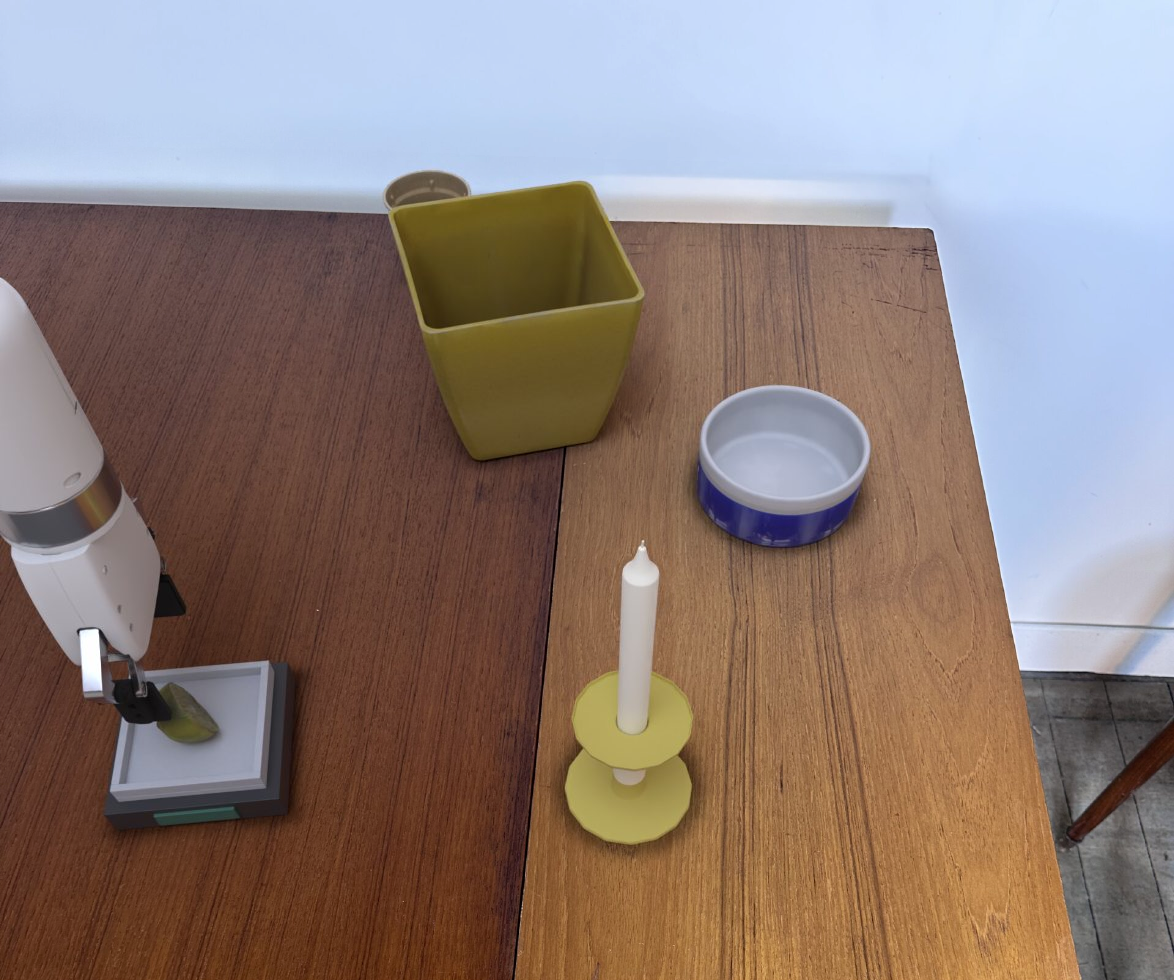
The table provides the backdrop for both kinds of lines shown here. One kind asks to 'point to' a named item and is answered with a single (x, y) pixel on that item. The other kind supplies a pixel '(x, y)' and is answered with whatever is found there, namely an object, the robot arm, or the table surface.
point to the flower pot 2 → (521, 312)
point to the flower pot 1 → (424, 188)
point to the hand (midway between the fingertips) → (158, 664)
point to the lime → (185, 717)
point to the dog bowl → (781, 465)
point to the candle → (631, 731)
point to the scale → (209, 751)
